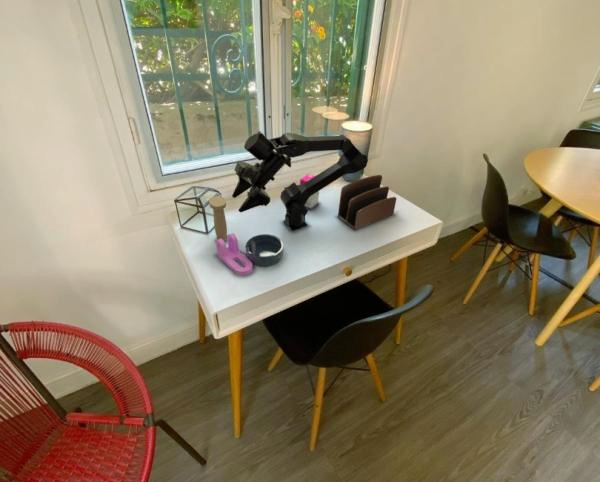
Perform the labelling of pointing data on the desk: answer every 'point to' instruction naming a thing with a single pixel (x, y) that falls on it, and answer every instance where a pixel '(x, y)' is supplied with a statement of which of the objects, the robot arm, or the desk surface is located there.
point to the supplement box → (315, 197)
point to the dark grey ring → (264, 250)
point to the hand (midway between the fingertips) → (236, 204)
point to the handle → (219, 216)
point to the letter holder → (365, 202)
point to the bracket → (233, 255)
